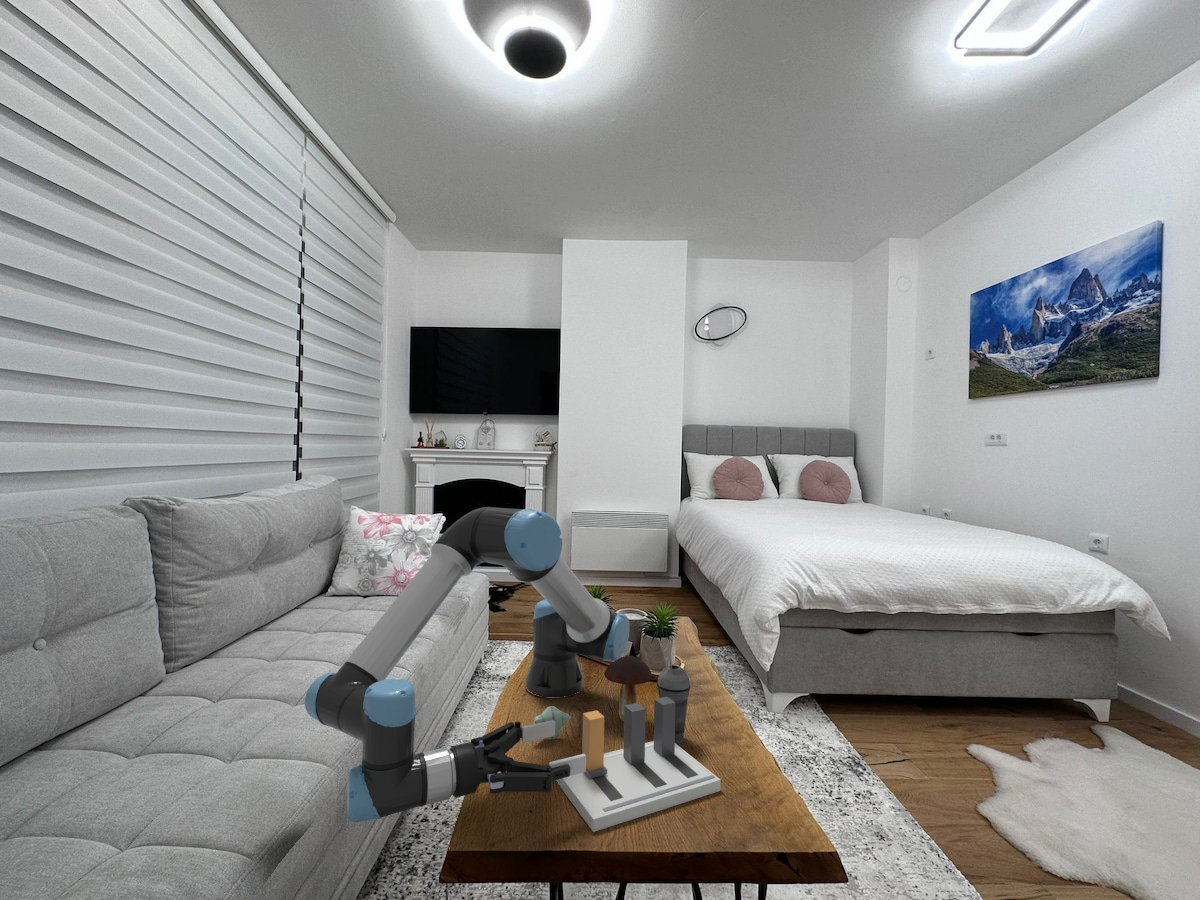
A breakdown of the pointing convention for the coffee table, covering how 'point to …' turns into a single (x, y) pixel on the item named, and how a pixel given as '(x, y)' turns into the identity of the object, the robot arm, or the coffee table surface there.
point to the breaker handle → (593, 743)
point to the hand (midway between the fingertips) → (569, 744)
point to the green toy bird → (555, 715)
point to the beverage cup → (675, 693)
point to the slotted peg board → (640, 773)
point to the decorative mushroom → (628, 678)
